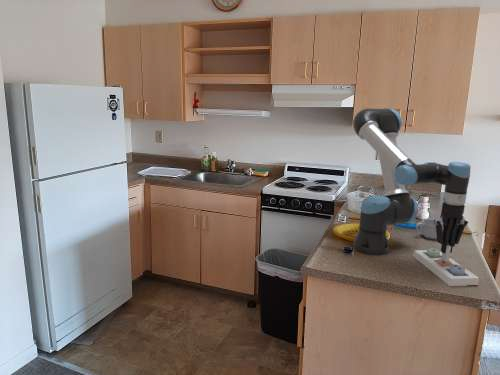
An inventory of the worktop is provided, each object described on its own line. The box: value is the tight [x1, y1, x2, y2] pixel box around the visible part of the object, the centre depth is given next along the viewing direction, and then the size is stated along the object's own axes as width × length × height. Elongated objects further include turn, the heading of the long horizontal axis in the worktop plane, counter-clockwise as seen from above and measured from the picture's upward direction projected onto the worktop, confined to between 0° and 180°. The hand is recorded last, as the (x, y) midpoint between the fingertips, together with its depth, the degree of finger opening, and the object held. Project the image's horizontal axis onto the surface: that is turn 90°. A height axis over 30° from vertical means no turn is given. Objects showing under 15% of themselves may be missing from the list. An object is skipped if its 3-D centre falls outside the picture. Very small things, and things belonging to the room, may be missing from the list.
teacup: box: [415, 218, 443, 241], centre depth 189 cm, size 14×11×8 cm
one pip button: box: [426, 247, 441, 258], centre depth 160 cm, size 5×5×3 cm
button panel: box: [413, 249, 480, 287], centre depth 153 cm, size 11×26×3 cm, turn 6°
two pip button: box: [449, 264, 466, 276], centre depth 145 cm, size 5×5×3 cm
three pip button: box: [437, 259, 452, 267], centre depth 153 cm, size 5×5×3 cm
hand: (444, 260), depth 152 cm, fingers closed
